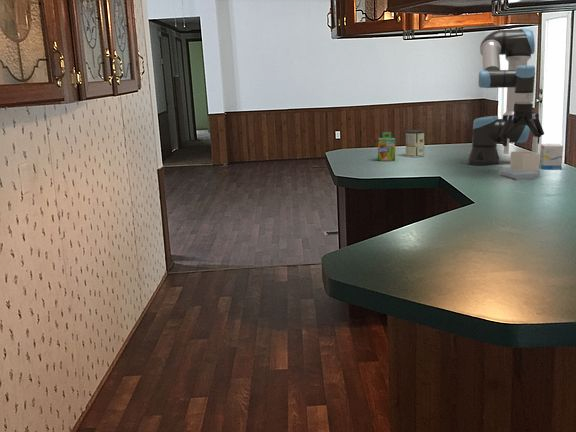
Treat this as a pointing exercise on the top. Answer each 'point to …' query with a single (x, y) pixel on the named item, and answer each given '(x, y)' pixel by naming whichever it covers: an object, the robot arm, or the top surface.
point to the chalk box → (386, 147)
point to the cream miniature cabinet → (415, 143)
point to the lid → (520, 174)
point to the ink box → (551, 156)
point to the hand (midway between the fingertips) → (520, 152)
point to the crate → (524, 160)
